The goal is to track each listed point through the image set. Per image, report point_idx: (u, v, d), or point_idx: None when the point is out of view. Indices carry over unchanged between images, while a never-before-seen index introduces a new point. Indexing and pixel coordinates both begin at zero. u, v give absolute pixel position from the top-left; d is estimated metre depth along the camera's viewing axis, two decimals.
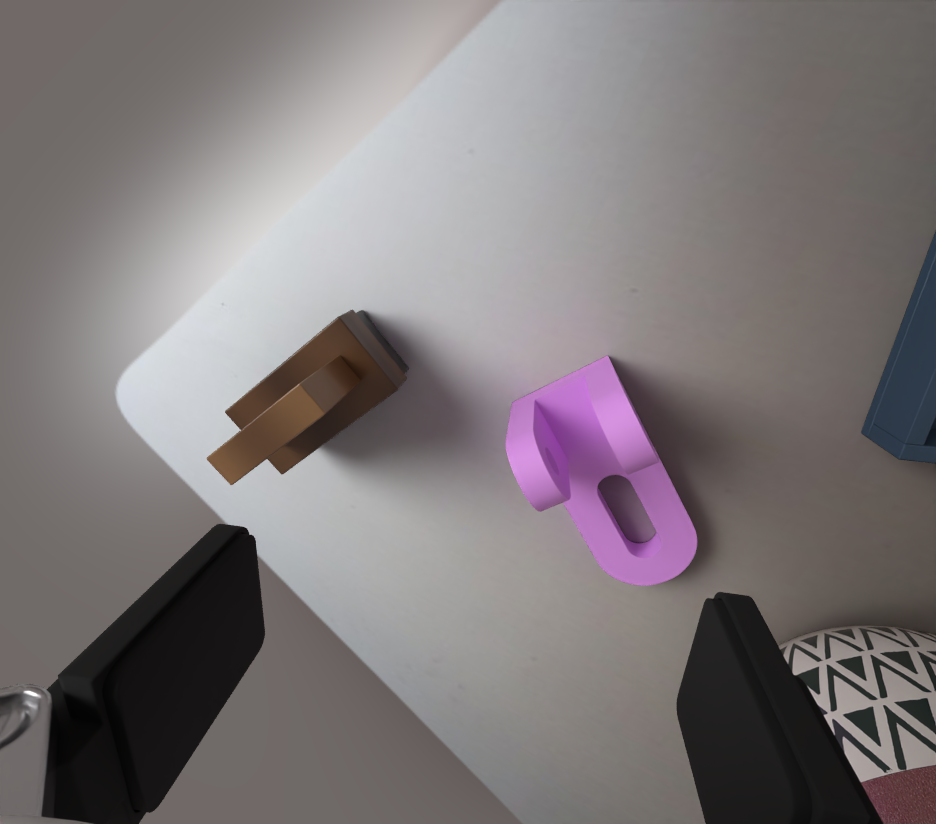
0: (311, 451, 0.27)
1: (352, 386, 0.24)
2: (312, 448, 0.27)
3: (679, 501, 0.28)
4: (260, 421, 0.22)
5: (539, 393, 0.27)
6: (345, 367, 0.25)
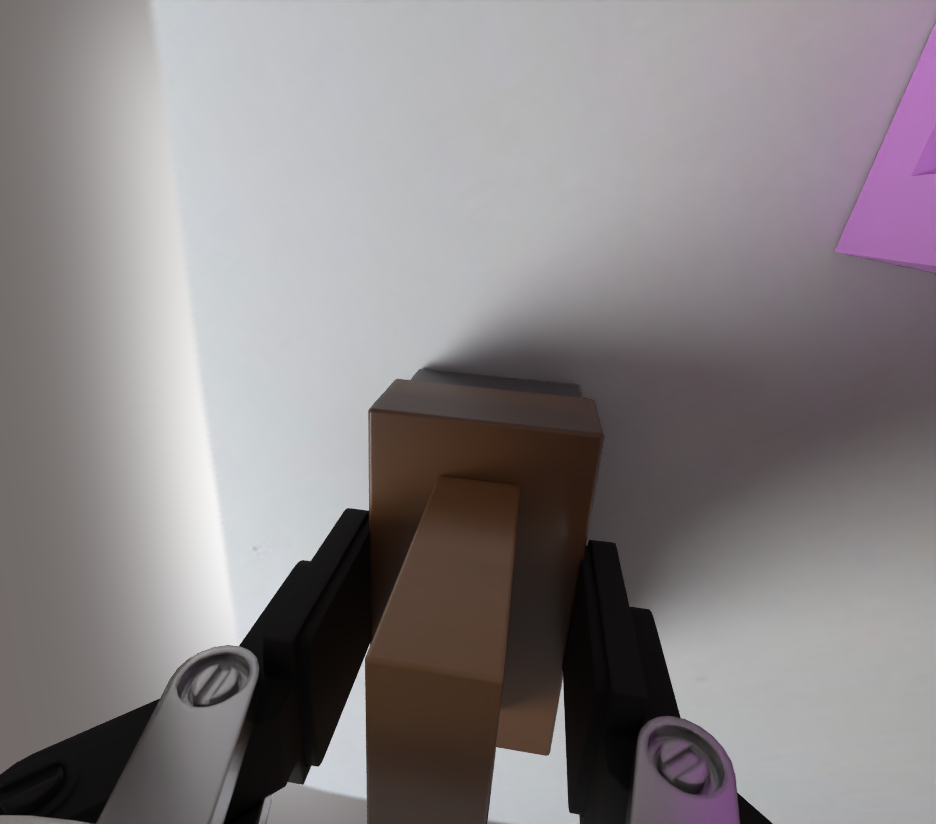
0: (558, 682, 0.12)
1: (512, 515, 0.09)
2: (555, 676, 0.12)
3: None
4: (382, 810, 0.07)
5: (897, 162, 0.10)
6: (467, 489, 0.10)
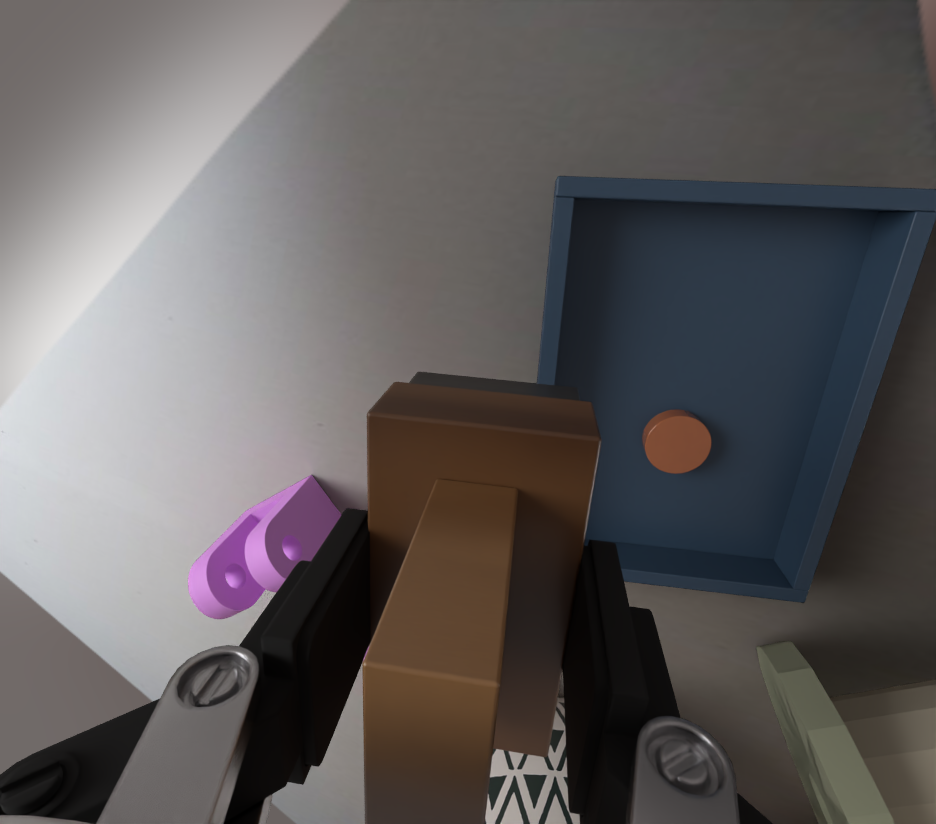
0: (557, 684, 0.12)
1: (510, 519, 0.09)
2: (553, 679, 0.12)
3: None
4: (380, 813, 0.07)
5: (258, 506, 0.32)
6: (465, 492, 0.10)
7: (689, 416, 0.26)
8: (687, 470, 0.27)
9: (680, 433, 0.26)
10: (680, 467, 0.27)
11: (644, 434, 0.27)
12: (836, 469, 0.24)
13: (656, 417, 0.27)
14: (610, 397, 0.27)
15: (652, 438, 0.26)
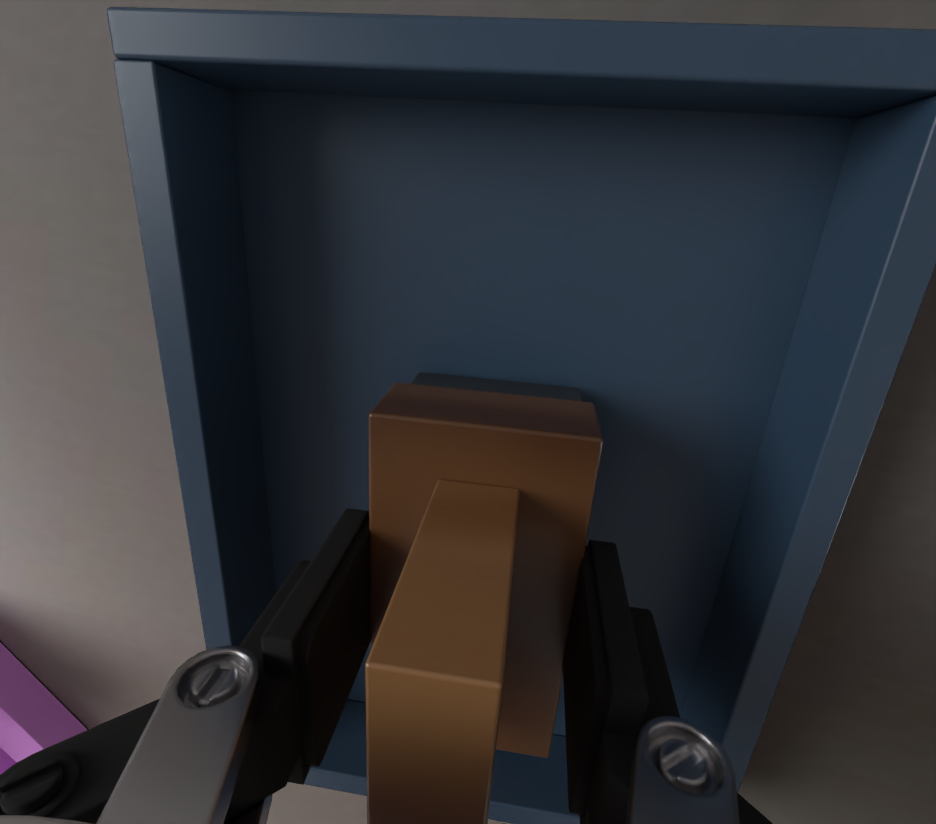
0: (558, 685, 0.12)
1: (512, 519, 0.09)
2: (555, 679, 0.12)
3: None
4: (382, 814, 0.07)
5: None
6: (466, 492, 0.10)
7: None
8: None
9: None
10: None
11: None
12: (762, 651, 0.12)
13: None
14: (365, 479, 0.15)
15: None
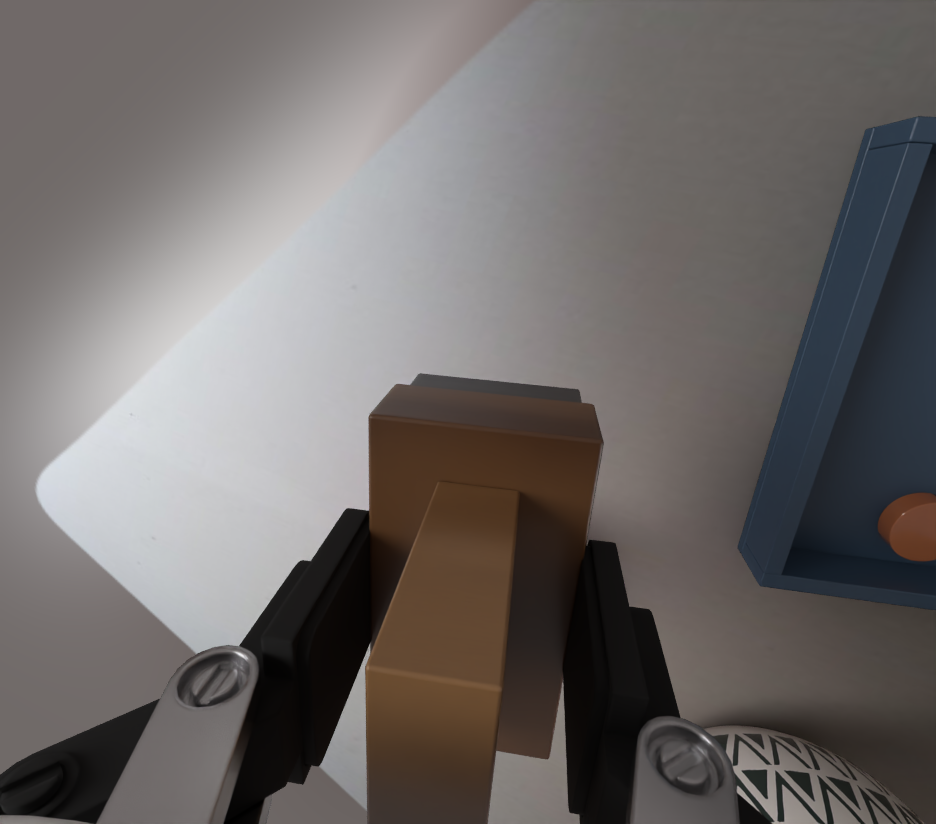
0: (558, 686, 0.12)
1: (512, 521, 0.09)
2: (555, 681, 0.12)
3: None
4: (382, 817, 0.07)
5: None
6: (466, 494, 0.10)
7: None
8: (933, 558, 0.25)
9: (934, 520, 0.24)
10: (926, 555, 0.25)
11: (885, 518, 0.25)
12: None
13: (902, 501, 0.25)
14: (884, 390, 0.23)
15: (900, 524, 0.24)
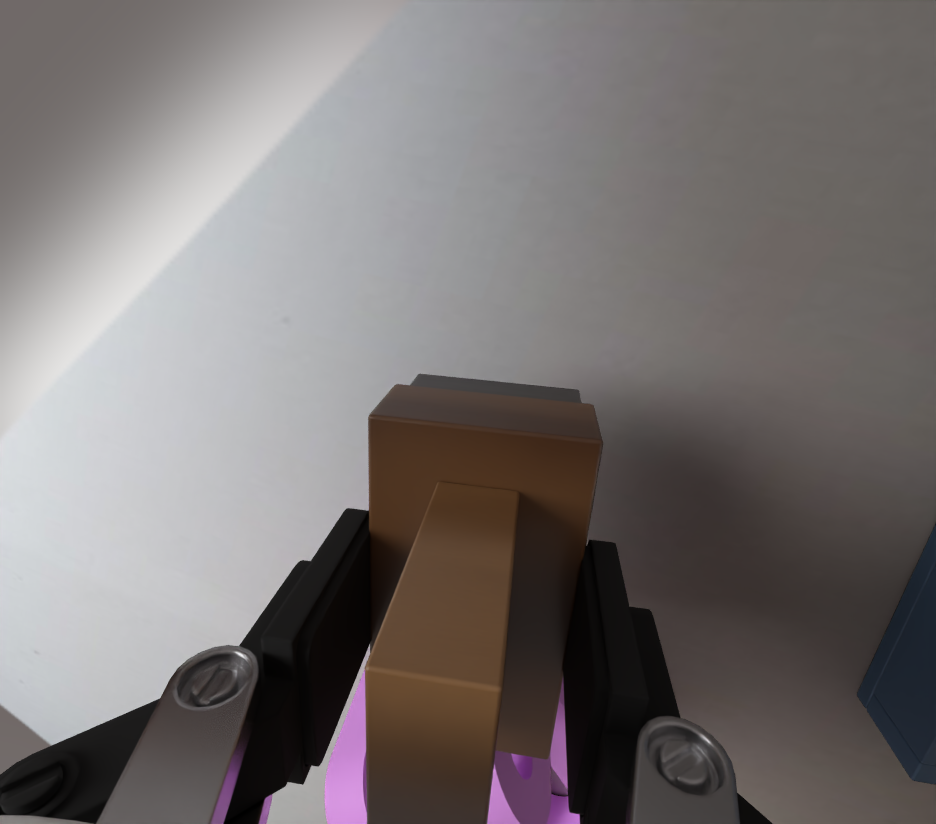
0: (558, 686, 0.12)
1: (511, 522, 0.09)
2: (555, 681, 0.12)
3: None
4: (382, 817, 0.07)
5: None
6: (466, 495, 0.10)
7: None
8: None
9: None
10: None
11: None
12: None
13: None
14: None
15: None
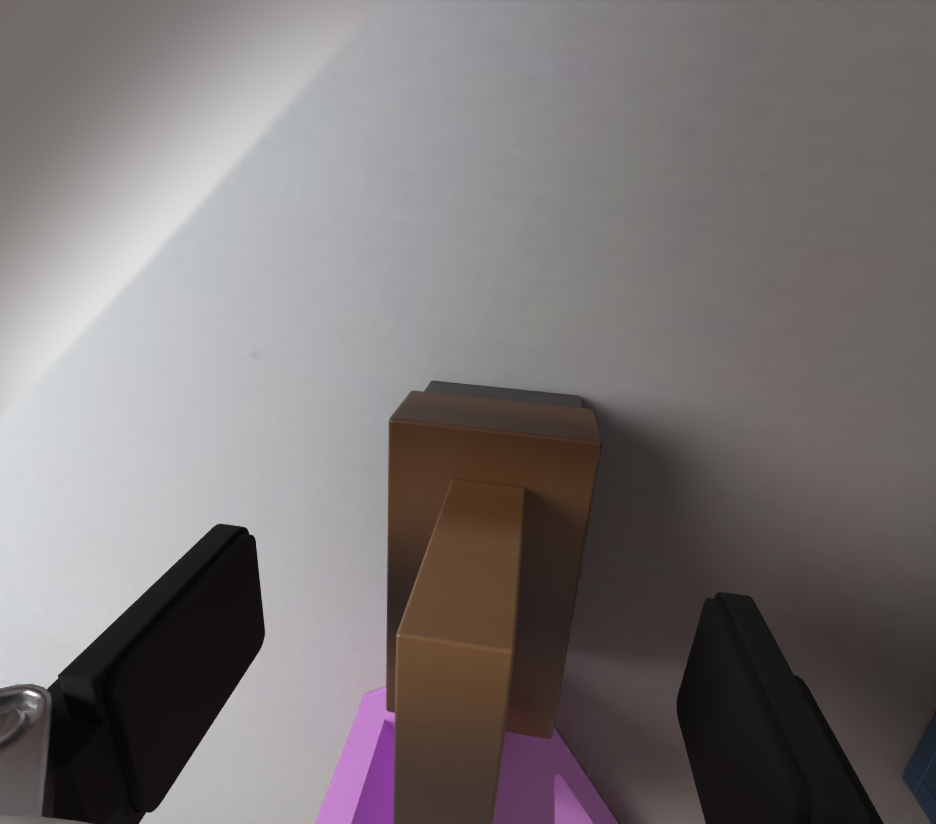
0: (560, 669, 0.13)
1: (519, 514, 0.10)
2: (557, 665, 0.12)
3: None
4: (408, 769, 0.08)
5: None
6: (478, 491, 0.11)
7: None
8: None
9: None
10: None
11: None
12: None
13: None
14: None
15: None
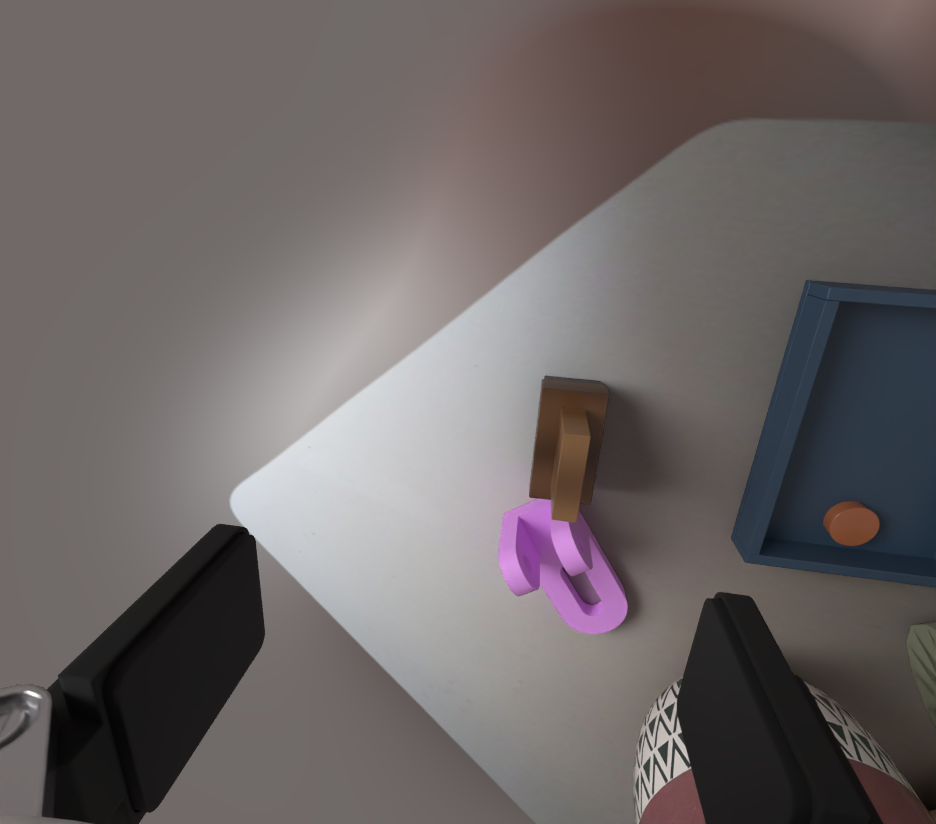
0: (594, 475, 0.36)
1: (585, 415, 0.34)
2: (593, 473, 0.36)
3: (614, 580, 0.42)
4: (561, 472, 0.32)
5: (521, 510, 0.41)
6: (571, 409, 0.34)
7: (865, 507, 0.37)
8: (859, 544, 0.38)
9: (857, 519, 0.37)
10: (854, 542, 0.38)
11: (827, 517, 0.38)
12: None
13: (837, 506, 0.38)
14: (823, 435, 0.36)
15: (836, 521, 0.37)
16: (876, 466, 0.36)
